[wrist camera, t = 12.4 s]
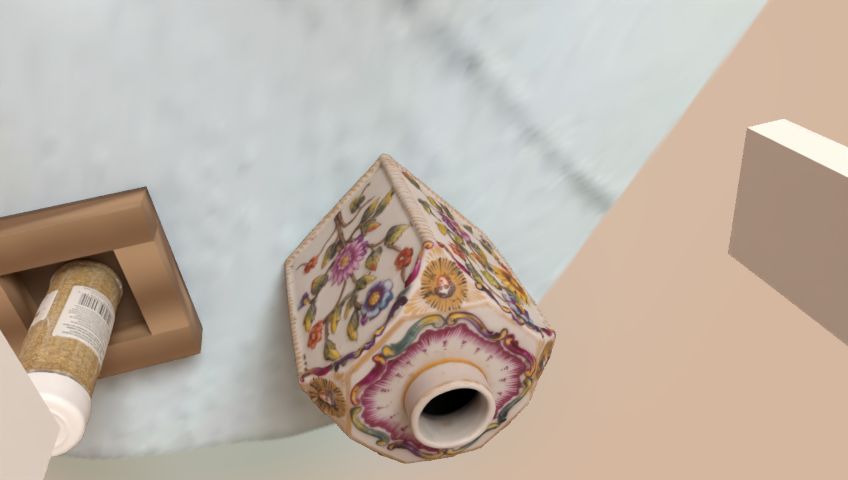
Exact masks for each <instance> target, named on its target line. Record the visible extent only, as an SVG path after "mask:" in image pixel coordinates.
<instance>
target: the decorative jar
mask: <svg viewBox="0 0 848 480" xmlns="http://www.w3.org/2000/svg"><path fill="white" fill-rule="evenodd" d="M285 274H286V287H287V288H286V289H287V299H288V307H289V308H288V310H289V318H290V326H291V331H292V341H293V347H294V354H295V361H296V366H297V371H298V376H299V378H298V382H299V385H300V387H301V388H302V390H303V391H304V392H306V393H307V394H308V395H309V396H310V398H311V400H312V401H313V402H314V404H316V405H317V406H318V407H319V408H320V409H321V410H322V411H323V412H324V413H325V414H327V415H328V416H329V417H331V418H332V420H333V421H334V422H335V423H336V424H337V425H338V426H339V427H340V429H341V430H342V431H343V432H344V433H345V434H346V435H347V436H348V437H349V438H350V439H352V440H354V441H356V442H358V443H360V444H362V445H364V446H365V447H367V448H369V449H371V450H372V451H375V452H377V453H378V454H379V455H382V456H385V457H388V458H390V459H394V460H396V461H398V462H401V463H414V462H421V461H431V460H435V459H441V458H448V457H453V456H455V455H457V454H461V453H465V452H469V451H473V450H476V449H478V448H481V447H482V446H484V444H486V443H487V442H488V441H489V440H490V439H492V438H493V437H494V436H495V435H496V434H497V433H499V431H501V430H502V429H503V428H505V427H506V426H507V425H508V424H509V423H510V422H511V421H512V420H513V419H514V418H515V417H516V416H517V415H518V414H519V413H520V412H521V411H522V410H523V409H524V408H525V407H526V406H527V404H528V403H529V401H530V400H531V398H532V395H533V393H534V390H535V388H536V385H537V382H538V380H539V378H540V376H541V374H542V372H543V370H544V367H545V366H546V364H547V362H548V360H549V358H550V355H551V351H552V348H553V345H554V342H555V338H556V334H555V331H554V330H553V329H551V327H550V325H549V324H548V322H547V321H546V319H545V317H544V316H543V314H542V313H541V311H540V310H539V308H538V307H537V305H536V304H535V302H534V301H533V299H532V298H531V297H530V295H529V294H528V292H527V291H526V289H525V288H524V287H523V286H522V284H521V282H520V281H519V279H518V278H517V276H516V275H515V273H514V272H513V270H512V269H511V268H510V266H509V265H508V263H507V262H506V260H505V259H504V257H503V256H502V255H501V254H500V252H499V251H498V250H497V249H496V247H495V246H494V245H493V243H492V242H491V241H490V239H489V238H488V237H487V236H486V235H485V234H484V233H483V232H482V231H480V230H479V229H478V228H477V227H476V226H474V225H473V224H472V223H471V222H469V221H468V220H467V219H466V218H464V217H463V216H462V215H461V214H460V213H459V212H457V211H456V210H455V209H454V208H452V207H451V206H450V205H449V204H448V203H446V202H445V201H444V200H443V199H442V198H441V197H439V196H438V195H437V194H435V193H434V192H433V191H432V190H431V189H430V188H428V187H427V186H426V185H425V184H423V183H422V182H421V181H420V180H418V179H417V178H416V177H414V176H413V175H412V174H411V173H410V172H408V171H407V170H406V169H405V168H404V167H402V166H401V165H400V164H399V163H397V162H396V161H395V160H394V159H393V158H392V157H391V156H389V155H387V154H382V155H381V156H380V158H379V159H378V160H377V161H376V162H375V164H374V165H373V166H371V168H370V169H369V171H368V172H366V173H365V174H364V175H363V177H361V178H360V180H359V181H358V182H357V183H356V184H355V185H354V186H353V187H352V188H351V189H350V190H349V191H348V192H347V194H346V195H345V196H344V197H343V198H342V199H341V200H340V201H339V202H338V203H337V205H336V206H335V207H334V208H333V209H332V210H331V211H330V212H329V213H328V214H327V215H326V216H325V217H324V219H323V220H322V221H321V222H319V223H318V225H317V226H316V227H315V228H314V229H313V230H312V232H311V233H310V234H309V235H308V236H307V237H306V238H305V239H304V240H303V242H302V243H301V244H300V245H299V246H298V247H297V248H296V250H295V251H294V252H293V253H292V254H291V255H290V256H289V257H288V258H287V260H286V261H285Z"/></svg>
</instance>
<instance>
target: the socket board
mask: <svg viewBox="0 0 848 480" xmlns="http://www.w3.org/2000/svg"><path fill="white" fill-rule="evenodd" d="M75 260H92V261H97V262H100V263H103V264H105V265H106V266H108V267H110V268H111V269H113V270H114V272H116V273H117V275H118V276H119V277H120V279H121V281H122V284H123V296H122V298H121V301H120V303H119V304H118V307H117V310H116V313H115V321H114V325H113V329H112V332H111V336H110V339H109V343H108V347H107V350H106V353H105V357H104V360H103V364H102V367H101V371H100V373H99V376H98V378H97V379H100V378H104V377H108V376H112V375H116V374H120V373H124V372H128V371H132V370H136V369H140V368H144V367H148V366H152V365H156V364H160V363H164V362H168V361H172V360H176V359H180V358H184V357H187V356H191V355H195V354H199V353H200V351H201V340H202V329H203V328H202V325H201V323H200V320H199V318H198V315H197V313H196V310H195V308H194V305H193V303H192V300H191V298H190V295H189V293H188V290H187V288H186V285H185V283H184V280H183V278H182V275H181V273H180V270H179V268H178V265H177V263H176V260H175V257H174V255H173V252H172V250H171V247H170V245H169V242H168V240H167V237H166V235H165V232H164V230H163V227H162V225H161V222H160V220H159V217H158V215H157V212H156V210H155V207H154V205H153V202H152V200H151V197H150V195H149V192H148V190H147V187H142V188H137V189H132V190H127V191H123V192H118V193H113V194H109V195H104V196H99V197H95V198H90V199H85V200H80V201H76V202H71V203H66V204H62V205H57V206H52V207H48V208H43V209H38V210H34V211H29V212H24V213H19V214H15V215H10V216H5V217H1V218H0V330H1V332H2V334H3V335H4V337H5V338H6V340H7V342H8V343H9V345H10V347H11V348H12V350H13V351H14V353H15V355H16V356H17V358H18V356H19V354H20V351H21V348H22V345H23V342H24V340H25V338H26V336H27V333H28V331H29V328H30V326H31V324H32V322H33V319H34V317H35V315H36V313H37V311H38V309H39V306H40V304H41V302H42V301H43V299H44V298H45V296H46V294H47V292H48V290H49V284H50V281H51V278H52V276H53V274H54V273H55V272H56V271H57V270H58V269H59V268H61V267H62V266H63V265H65V264H67V263H69V262H72V261H75Z"/></svg>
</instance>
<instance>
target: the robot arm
mask: <svg viewBox="0 0 848 480" xmlns="http://www.w3.org/2000/svg"><path fill="white" fill-rule="evenodd" d="M728 253H729V254H730V255H731V256H732V257H733V258H735V259H736V260H737V261H739V262H740V263H741V264H743V265H744V266H745V267H746V268H748V269H749V270H750V271H752V272H753V273H754V274H755V275H757V276H758V277H759V278H761V279H762V280H763V281H765V282H766V283H767V284H768V285H770V286H771V287H772V288H774V289H775V290H776V291H777V292H779V293H780V294H781V295H783V296H784V297H785V298H787V299H788V300H789V301H790V302H792V303H793V304H794V305H796V306H797V307H798V308H799V309H801V310H802V311H803V312H805V313H806V314H807V315H808V316H810V317H811V318H812V319H814V320H815V321H816V322H818V323H819V324H820V325H821V326H823V327H824V328H825V329H827V330H828V331H829V332H831V333H832V334H833V335H834V336H836V337H837V338H838V339H840V340H841V341H842V342H843V343H845V344H846V345H847V346H848V147H845V146H844V145H841V144H839V143H837V142H834V141H832V140H830V139H828V138H825V137H823V136H821V135H819V134H816V133H814V132H812V131H810V130H807V129H805V128H803V127H801V126H799V125H796V124H794V123H791V122H790V121H787V120H785V119H782V120H778V121H773V122H769V123H765V124H761V125H756V126H752V127H748V128H747V131H746V138H745V145H744V151H743V158H742V165H741V171H740V178H739V184H738V191H737V198H736V204H735V211H734V218H733V224H732V231H731V237H730V244H729V251H728ZM59 431H60V426H59V424H58V423H57V421H56V420H55V418H54V416H53V415H52V413H51V412H50V410H49V408H48V407H47V405H46V403H45V402H44V400H43V399H42V397H41V395H40V394H39V392H38V390H37V389H36V387H35V386H34V384H33V382H32V381H31V379H30V377H29V376H28V374H27V373H26V371H25V369H24V368H23V366H22V364H21V363H20V361H19V360H18V358H17V356H16V355H15V353H14V351H13V350H12V348H11V347H10V345H9V343H8V342H7V340H6V338H5V337H4V335H3V334H2V332H1V330H0V480H43V479H44V476H45V473H46V470H47V467H48V464H49V461H50V458H51V455H52V452H53V449H54V446H55V443H56V440H57V437H58V434H59Z"/></svg>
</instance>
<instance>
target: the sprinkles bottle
mask: <svg viewBox="0 0 848 480" xmlns="http://www.w3.org/2000/svg"><path fill="white" fill-rule="evenodd" d="M122 296H123V284H122V281H121V279H120V277H119V276H118V275H117V273H116V272H114V270H113V269H111V268H110V267H108V266H106V265H105V264H103V263H100V262H97V261H92V260H75V261H72V262H69V263H67V264H65V265H63V266H62V267H61V268H59V269H58V270H57V271H56V272H55V273H54V274H53V276H52V278H51V281H50V284H49V290H48V292H47V294H46V296H45V298H44V299H43V301H42V302H41V304H40V306H39V309H38V311H37V313H36V315H35V317H34V319H33V322H32V324H31V326H30V328H29V331H28V333H27V336H26V338H25V340H24V342H23V345H22V348H21V351H20V354H19V356H18V360H19V361H20V363H21V364H22V366H23V368H24V369H25V371H26V373H27V374H28V376H29V377H30V379H31V381H32V382H33V384H34V386H35V387H36V389H37V390H38V392H39V394H40V395H41V397H42V399H43V400H44V402H45V403H46V405H47V407H48V408H49V410H50V412H51V413H52V415H53V416H54V418H55V420H56V421H57V423H58V424H59V426H60V431H59V434H58V437H57V440H56V443H55V446H54V449H53V452H52V455H51V457H55V456H58V455H60V454H63V453H65V452H67V451H69V450H70V449H72V448H73V447H74V446H75V445H77V444H78V443H79V441H80V440H81V439H82V437H83V435H84V432H85V430H86V427H87V424H88V420H89V417H90V413H91V408H92V405H91V397H92V393H93V391H94V387H95V384H96V380H97V378H98V376H99V373H100V371H101V367H102V364H103V360H104V357H105V353H106V350H107V347H108V343H109V339H110V336H111V332H112V329H113V325H114V321H115V313H116V310H117V307H118V304H119V303H120V301H121V298H122Z"/></svg>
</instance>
